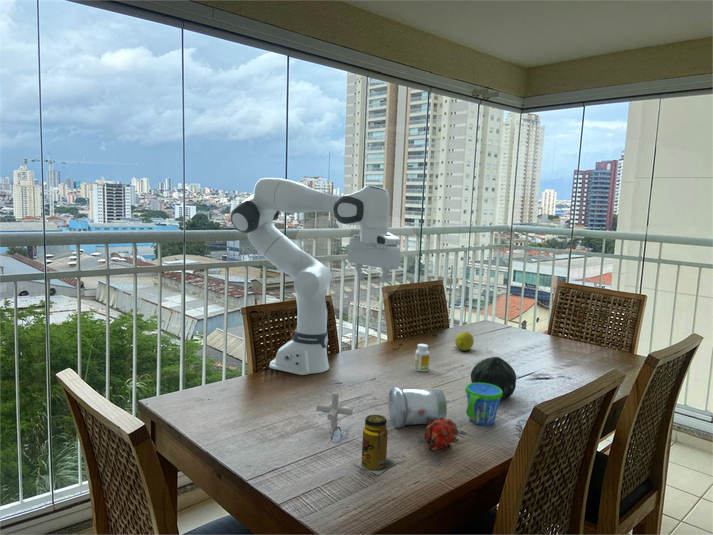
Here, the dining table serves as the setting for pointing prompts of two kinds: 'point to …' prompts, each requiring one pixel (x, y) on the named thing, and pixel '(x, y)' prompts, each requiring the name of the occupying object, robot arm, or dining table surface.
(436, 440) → the dragon fruit
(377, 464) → the condiment
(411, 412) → the white flanged cylinder
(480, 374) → the squash
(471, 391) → the snack cup
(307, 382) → the dining table surface
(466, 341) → the lemon
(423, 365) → the supplement bottle
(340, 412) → the pipe connector
